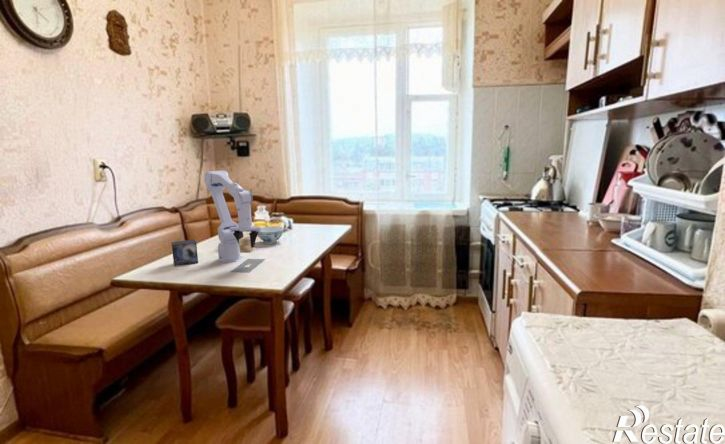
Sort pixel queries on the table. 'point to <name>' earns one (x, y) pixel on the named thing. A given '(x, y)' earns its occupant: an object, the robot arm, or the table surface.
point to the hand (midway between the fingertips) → (247, 247)
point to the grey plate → (248, 265)
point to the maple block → (245, 245)
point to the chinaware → (270, 234)
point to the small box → (184, 252)
